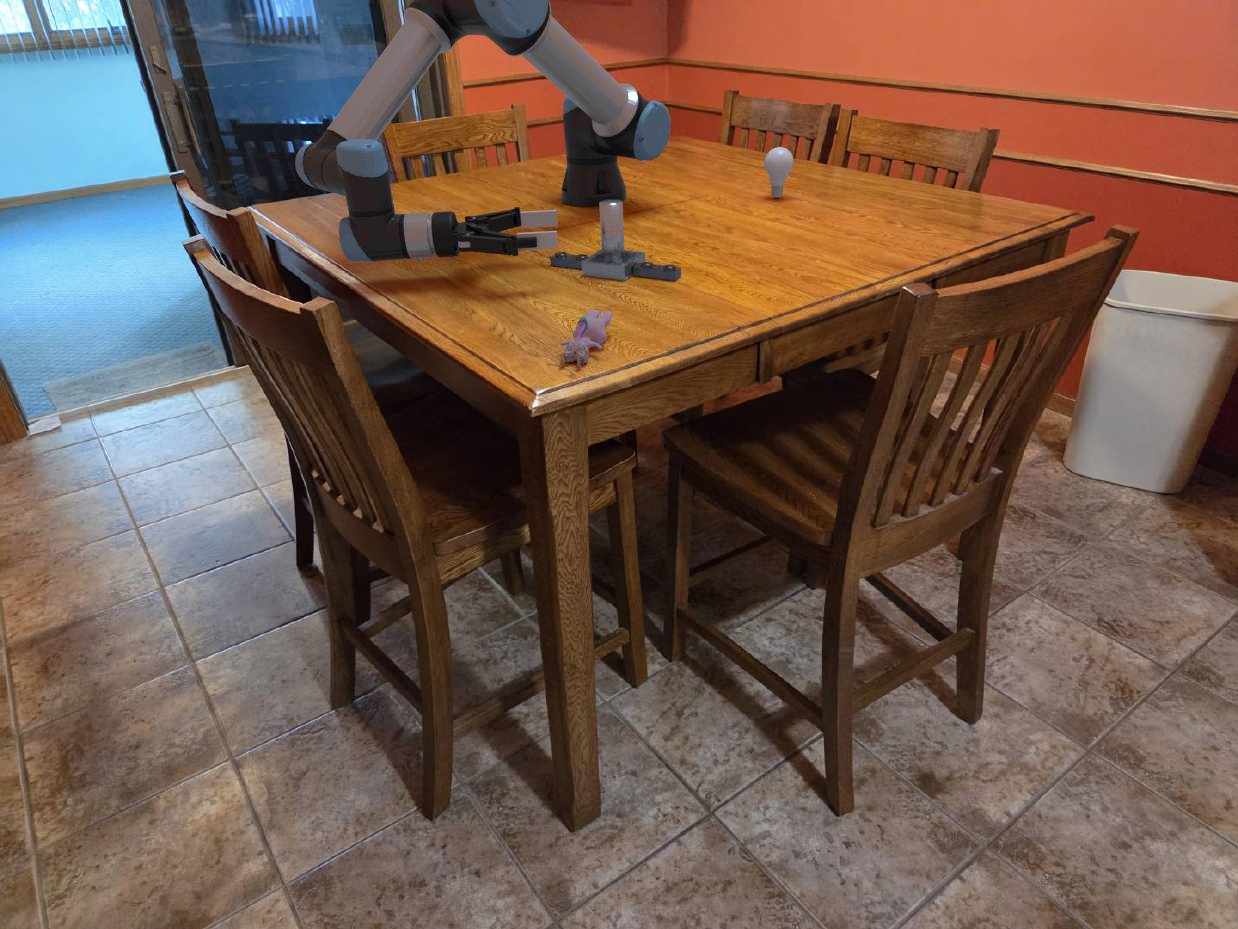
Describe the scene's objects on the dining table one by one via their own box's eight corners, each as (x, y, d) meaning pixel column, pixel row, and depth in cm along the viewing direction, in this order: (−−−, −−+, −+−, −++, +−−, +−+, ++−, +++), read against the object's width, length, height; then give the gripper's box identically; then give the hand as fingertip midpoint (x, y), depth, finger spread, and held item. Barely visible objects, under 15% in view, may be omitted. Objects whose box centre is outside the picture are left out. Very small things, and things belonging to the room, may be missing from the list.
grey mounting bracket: (542, 270, 147) (541, 256, 146) (565, 256, 153) (564, 243, 152) (668, 286, 137) (668, 272, 136) (687, 271, 143) (687, 257, 142)
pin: (598, 273, 144) (595, 204, 138) (609, 266, 147) (606, 198, 141) (618, 275, 143) (616, 206, 136) (628, 268, 146) (626, 200, 140)
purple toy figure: (593, 380, 111) (625, 323, 121) (588, 342, 107) (622, 287, 117) (550, 375, 112) (586, 319, 123) (544, 338, 108) (581, 284, 119)
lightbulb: (789, 194, 186) (793, 144, 180) (792, 201, 181) (795, 149, 175) (761, 195, 187) (764, 144, 181) (763, 202, 182) (765, 150, 176)
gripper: (445, 236, 152) (558, 230, 153) (427, 279, 131) (559, 272, 132) (439, 195, 148) (555, 189, 149) (419, 233, 127) (555, 225, 128)
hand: (557, 228), depth 141 cm, fingers open, 13 cm apart
